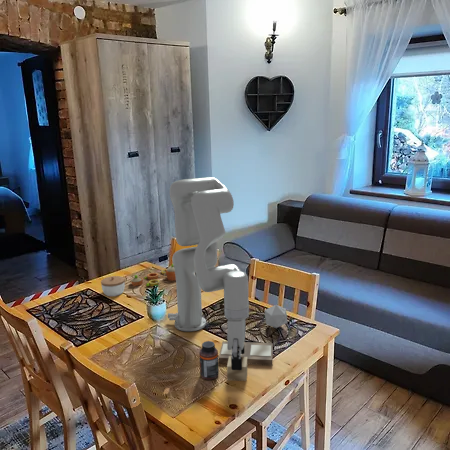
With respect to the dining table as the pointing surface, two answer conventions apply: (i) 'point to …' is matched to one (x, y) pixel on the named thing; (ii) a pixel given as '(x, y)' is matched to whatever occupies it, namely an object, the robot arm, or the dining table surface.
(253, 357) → the base board
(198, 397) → the dining table surface
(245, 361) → the oak block
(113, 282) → the lidded jar
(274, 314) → the die
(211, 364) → the supplement bottle
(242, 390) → the dining table surface
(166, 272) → the cupcakes and donuts
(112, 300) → the dining table surface
